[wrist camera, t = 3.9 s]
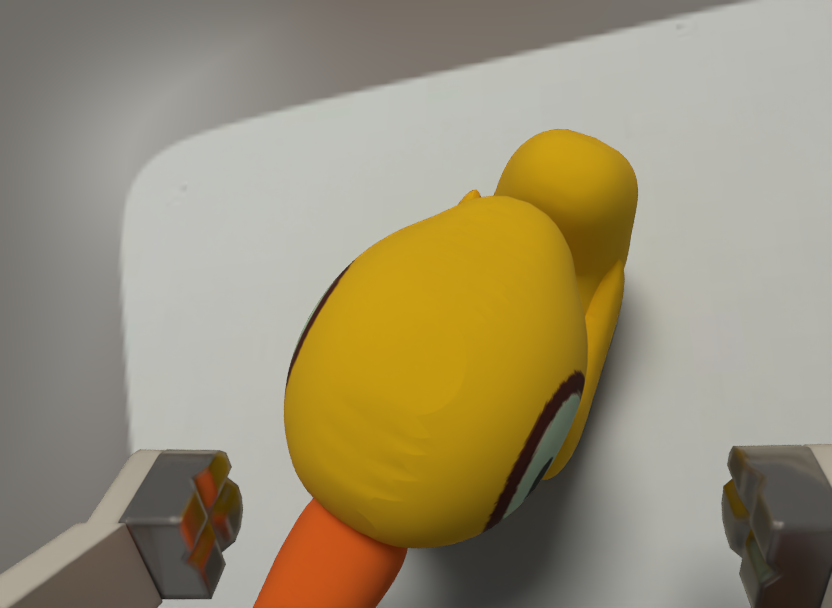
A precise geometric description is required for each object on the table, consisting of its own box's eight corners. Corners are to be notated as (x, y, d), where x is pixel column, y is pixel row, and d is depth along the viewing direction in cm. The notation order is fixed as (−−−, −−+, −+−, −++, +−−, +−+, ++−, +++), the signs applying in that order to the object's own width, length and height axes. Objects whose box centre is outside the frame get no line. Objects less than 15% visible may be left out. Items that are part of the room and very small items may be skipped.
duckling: (468, 640, 17) (397, 859, 8) (297, 526, 18) (53, 588, 9) (668, 262, 19) (822, 43, 9) (497, 182, 20) (473, -84, 10)
